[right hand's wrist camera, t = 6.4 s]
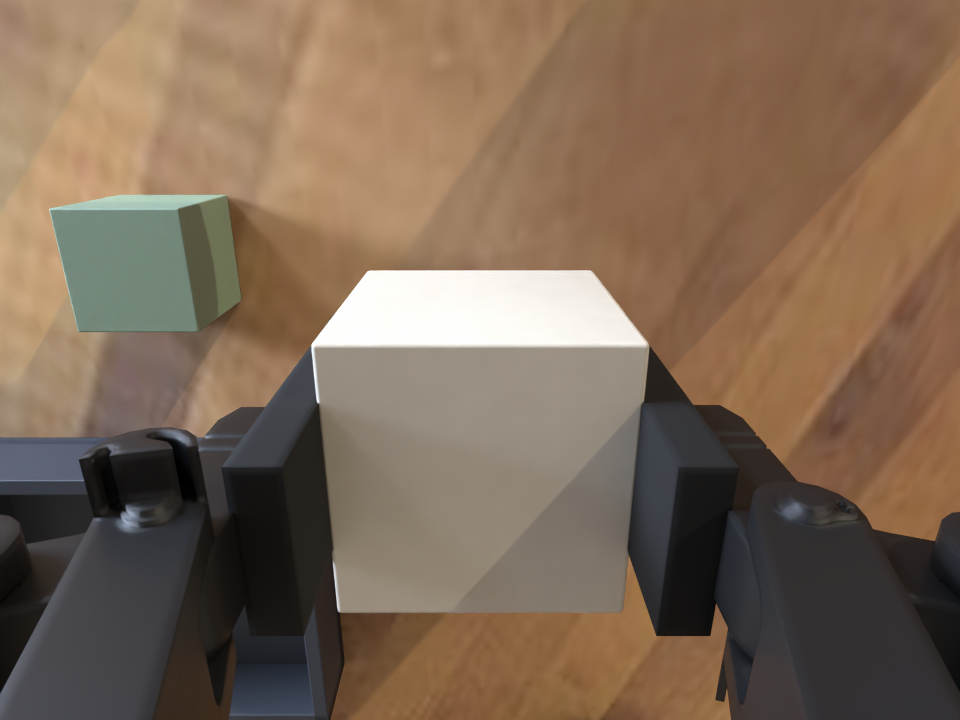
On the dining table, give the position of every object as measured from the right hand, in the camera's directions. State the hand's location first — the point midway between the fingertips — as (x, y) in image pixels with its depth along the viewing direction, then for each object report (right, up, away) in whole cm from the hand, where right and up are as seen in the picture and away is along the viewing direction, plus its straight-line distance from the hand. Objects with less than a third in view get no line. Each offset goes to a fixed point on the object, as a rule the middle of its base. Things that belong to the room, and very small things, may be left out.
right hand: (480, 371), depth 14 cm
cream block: (0, 0, +1) cm, 0 cm away
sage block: (-14, +5, +15) cm, 22 cm away
